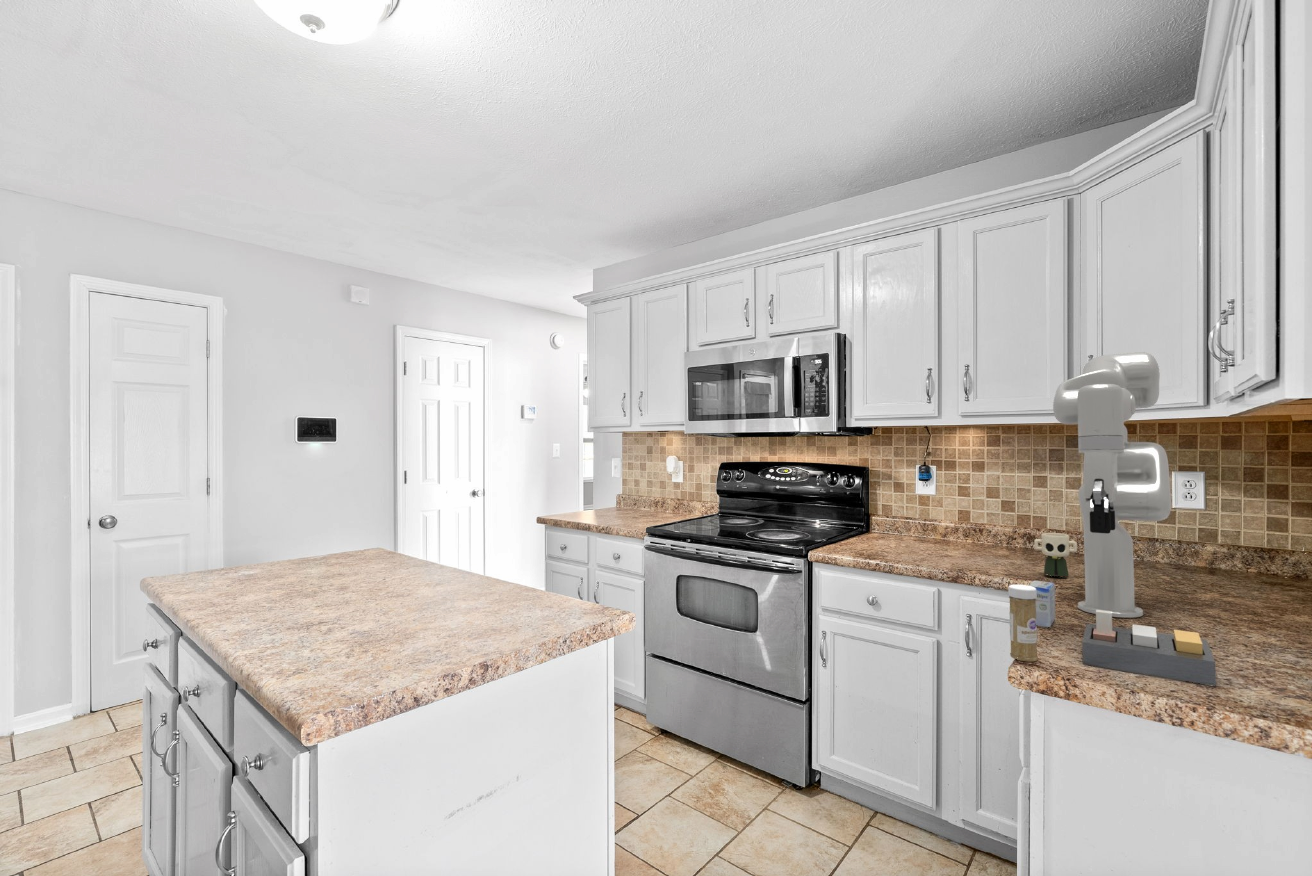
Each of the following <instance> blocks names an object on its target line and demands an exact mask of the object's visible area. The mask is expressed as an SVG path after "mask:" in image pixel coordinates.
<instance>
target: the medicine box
mask: <svg viewBox="0 0 1312 876" xmlns="http://www.w3.org/2000/svg"><path fill="white" fill-rule="evenodd" d="M1028 586H1032V587H1035V588H1036V591H1037V598H1035V599H1036V625H1038V626H1037V627H1041V628H1048V627H1050V628H1051V627H1052V625H1053V623H1054V622H1055V620H1056V585H1055V583H1054V582H1049V581H1041V580H1032V582H1031V583H1029V584H1028Z"/></svg>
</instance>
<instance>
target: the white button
mask: <svg viewBox="0 0 1312 876" xmlns="http://www.w3.org/2000/svg"><path fill="white" fill-rule="evenodd" d="M1132 630H1133V645H1139V646H1146V647H1153V648H1157V634H1156V633H1157V629H1156V626H1150V625H1149V626H1147V625H1141V624H1140V625H1139V624H1132Z"/></svg>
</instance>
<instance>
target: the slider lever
mask: <svg viewBox="0 0 1312 876" xmlns="http://www.w3.org/2000/svg"><path fill="white" fill-rule="evenodd" d="M1095 625H1096V629H1094V631H1093V639H1098V640H1105V641H1112V642H1115V641H1116V632H1115V631H1112V627H1113V617H1112V611H1105V610H1096V614H1095Z"/></svg>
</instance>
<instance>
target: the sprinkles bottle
mask: <svg viewBox="0 0 1312 876" xmlns="http://www.w3.org/2000/svg"><path fill="white" fill-rule="evenodd" d="M1007 590H1008V594H1007V595H1008V598H1009V640H1010V653H1009V655H1010V657H1011V658H1012V659H1014V660H1016V659H1017V660H1016V661H1020V662H1027V663H1028V662H1031V663H1032V662H1037V661H1038V659H1039V658H1038V629H1037V627H1038V626H1036V599H1035V598H1037V591H1036V588H1035V587H1032V586H1029V585H1028V584H1010V585H1008V589H1007ZM1017 657H1018V658H1017Z"/></svg>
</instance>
